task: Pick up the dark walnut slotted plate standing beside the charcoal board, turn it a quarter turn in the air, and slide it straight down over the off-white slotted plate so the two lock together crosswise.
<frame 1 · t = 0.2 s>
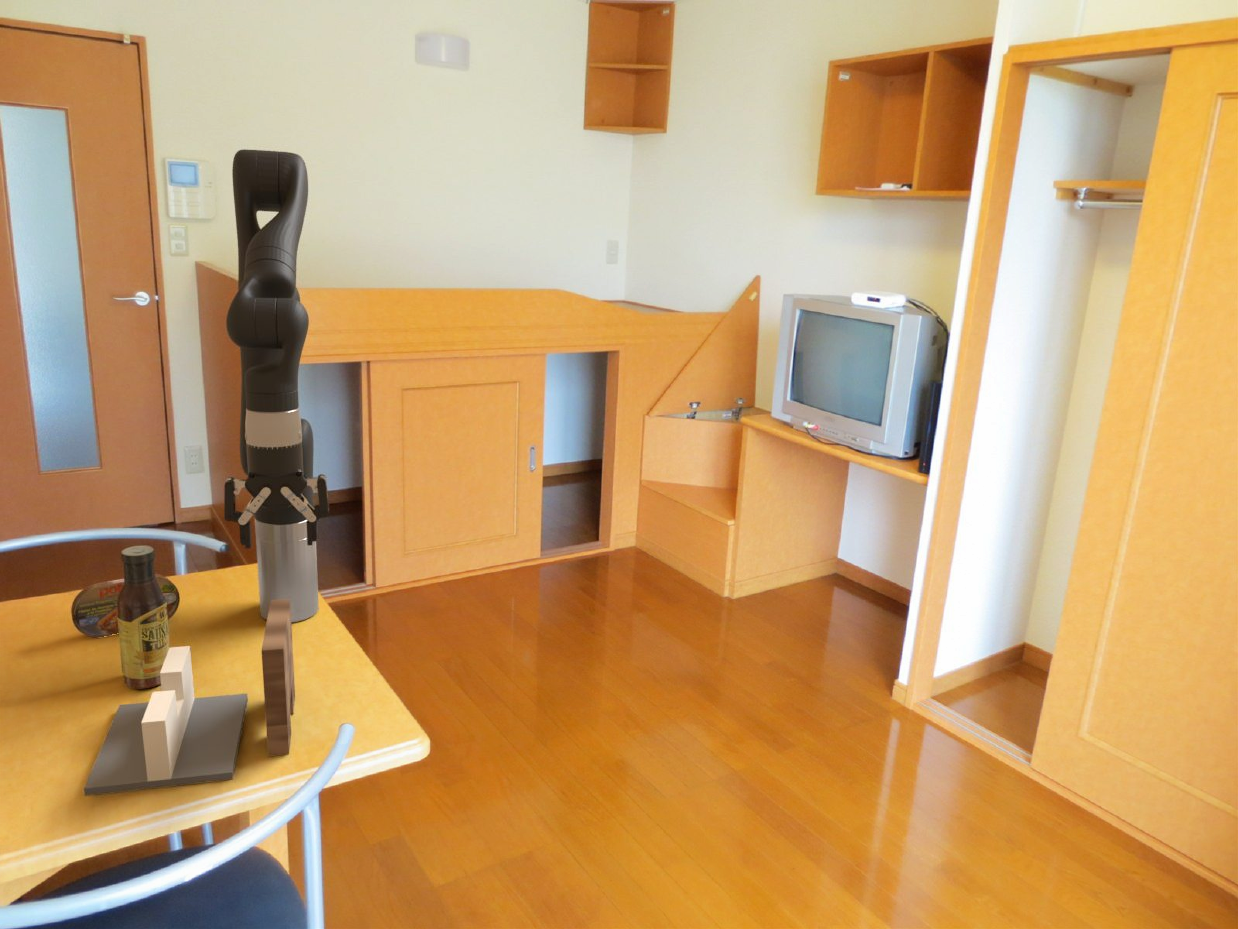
hand: (279, 545, 135), 18 cm above the table, tool pointing down, fingers open, 8 cm apart
sauce bottle: (148, 680, 131), on the table
walnut plate: (282, 724, 122), on the table
tin: (129, 629, 145), on the table
slotted stand: (173, 743, 117), on the table
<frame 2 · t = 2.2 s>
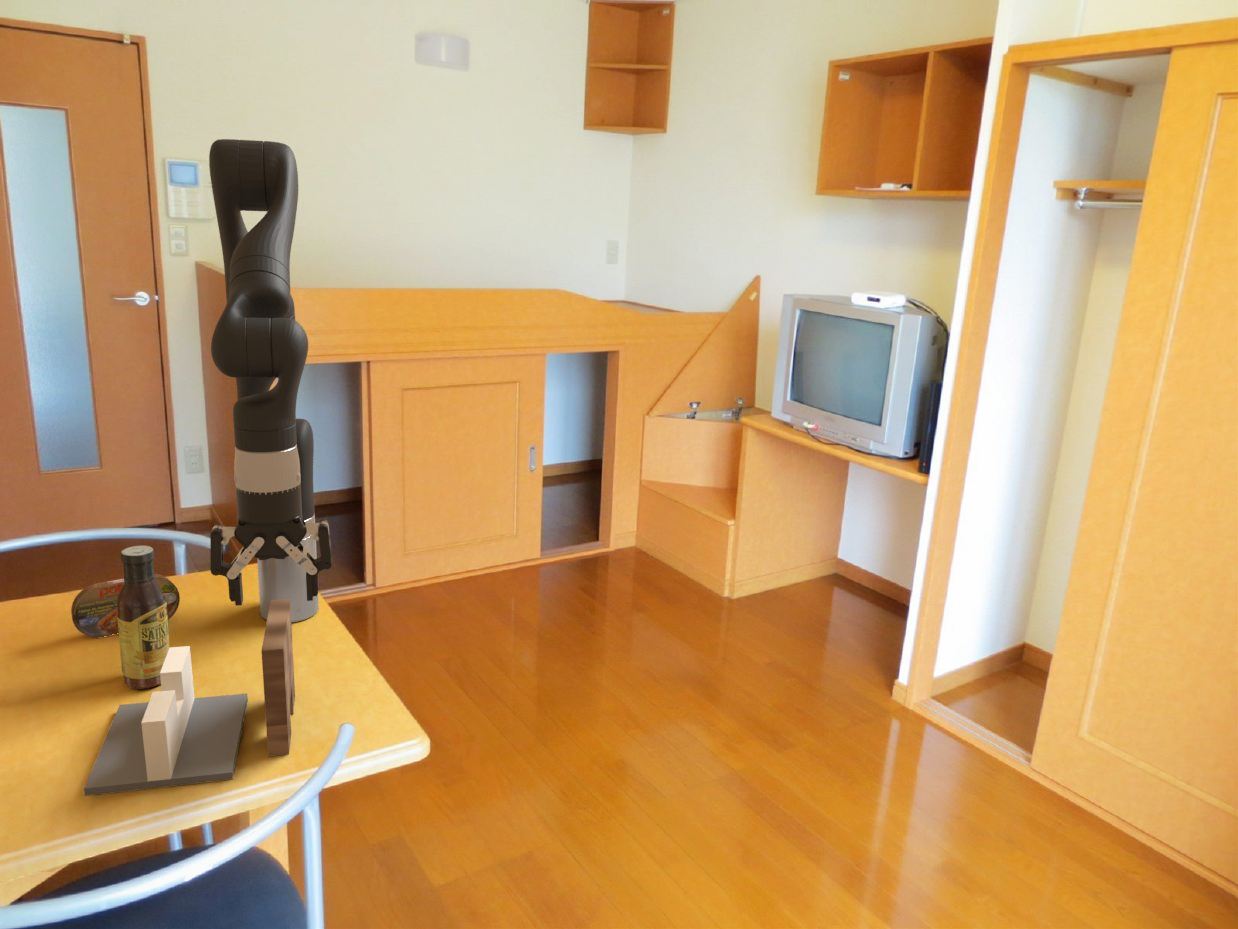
hand: (275, 600, 117), 18 cm above the table, tool pointing down, fingers open, 8 cm apart
nothing on the table moved.
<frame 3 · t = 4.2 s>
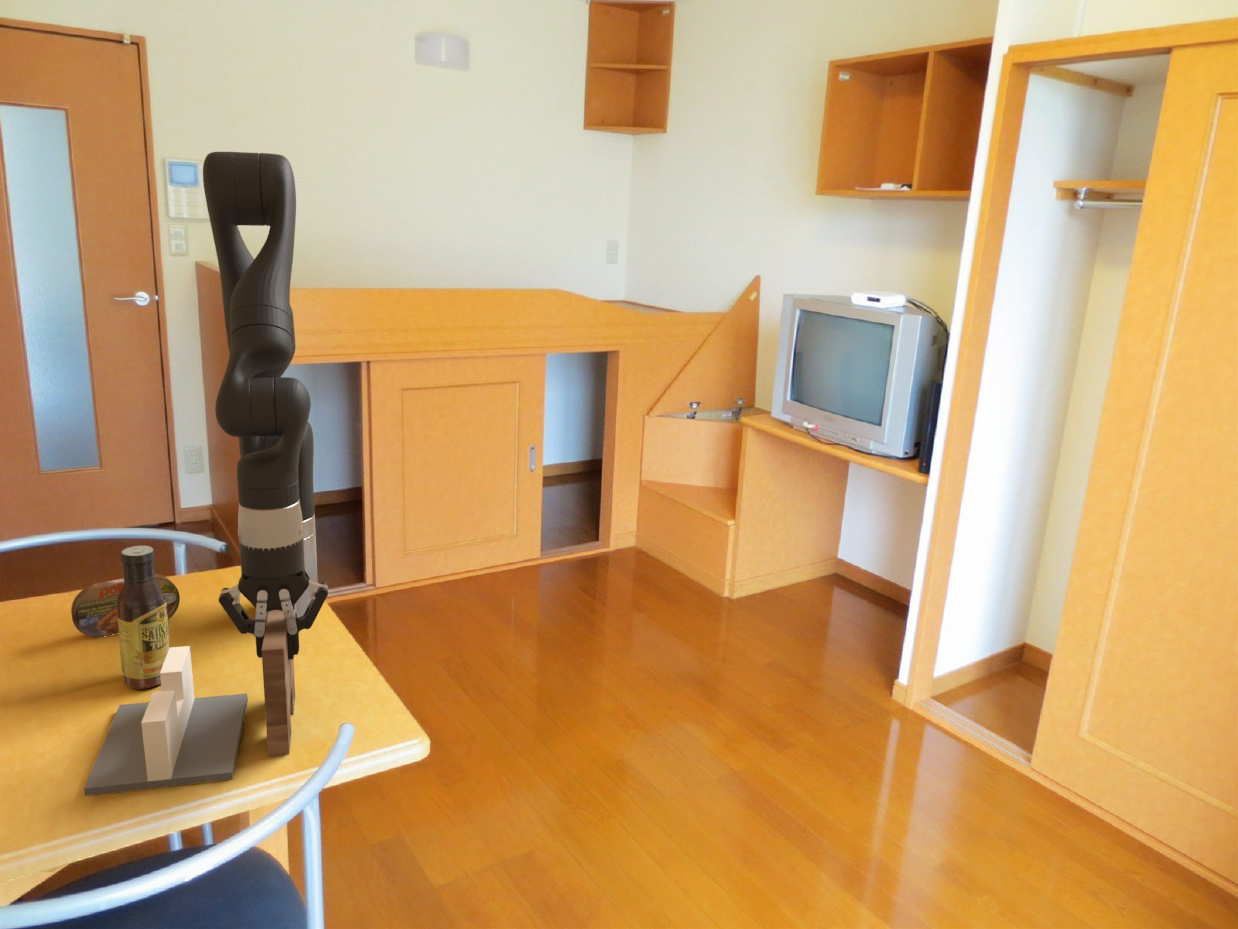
hand: (278, 657, 119), 10 cm above the table, tool pointing down, fingers closed on walnut plate, 2 cm apart
walnut plate: (282, 724, 122), on the table, touching gripper
everything else where it was.
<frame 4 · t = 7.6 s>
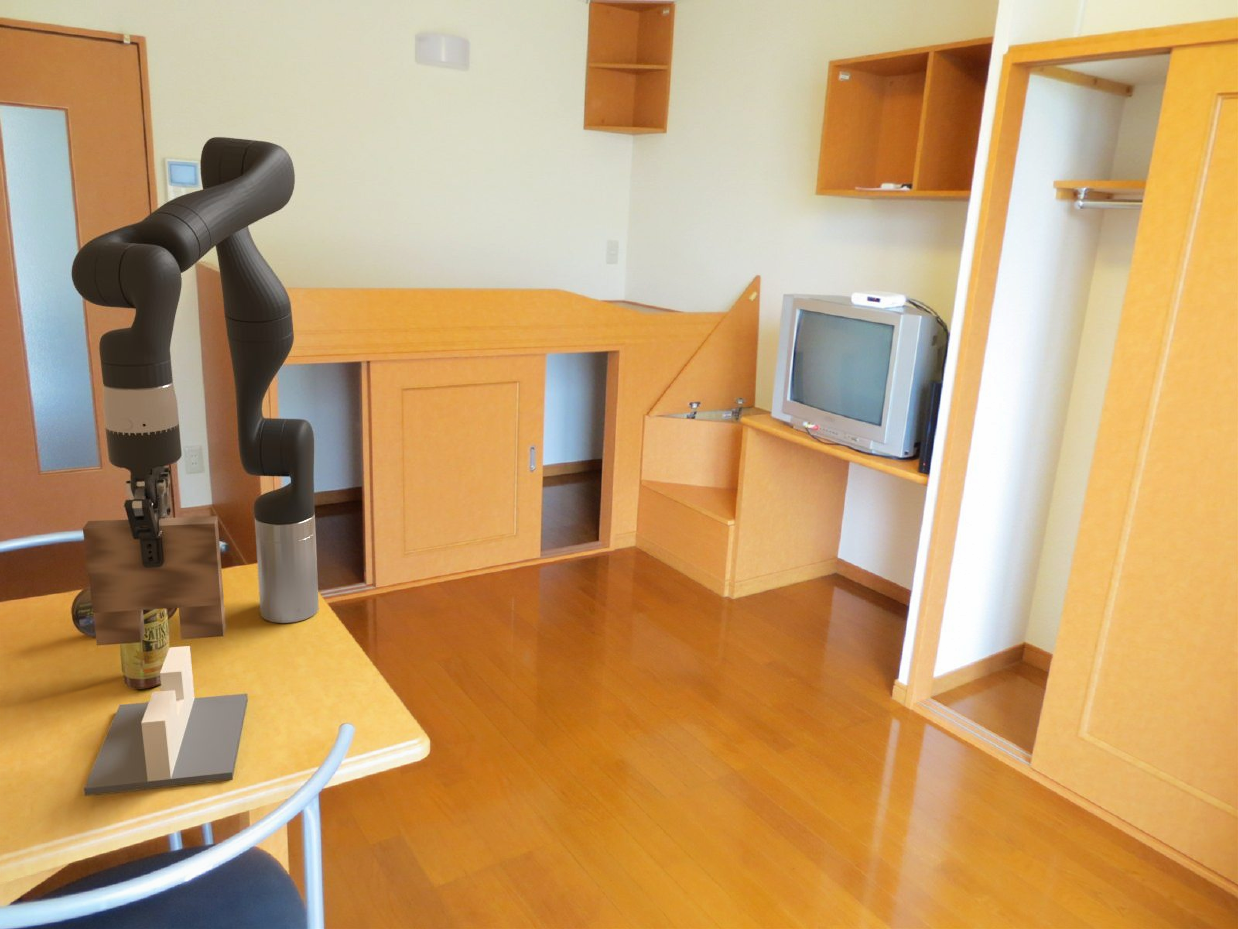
hand: (156, 560, 109), 25 cm above the table, tool pointing down, fingers closed on walnut plate, 2 cm apart
walnut plate: (163, 636, 112), point 15 cm above the table, touching gripper
everything else where it was.
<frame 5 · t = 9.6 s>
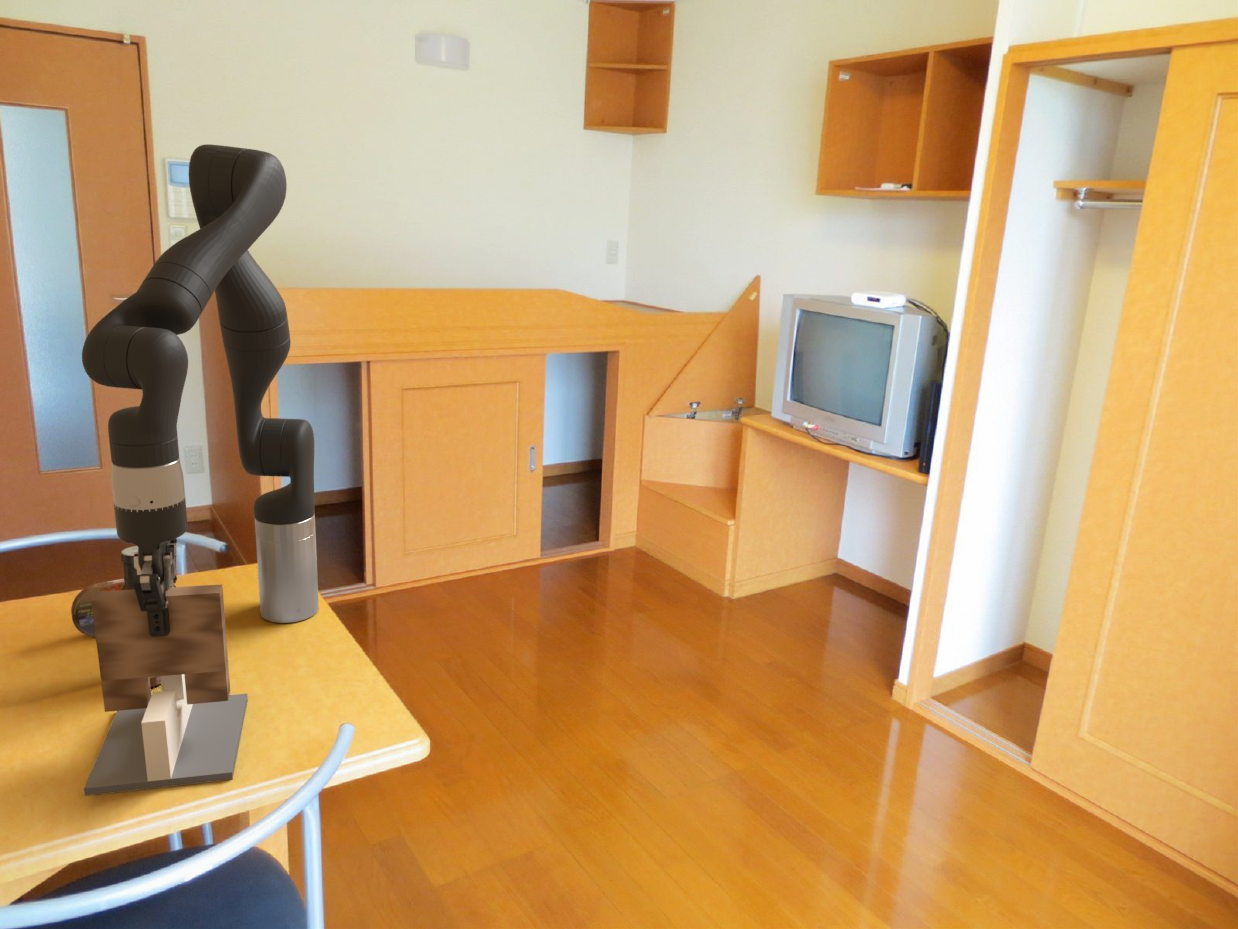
hand: (162, 628, 112), 16 cm above the table, tool pointing down, fingers closed on walnut plate, 2 cm apart
walnut plate: (169, 701, 115), point 6 cm above the table, touching gripper
everything else where it was.
when the fingers open (12 cm above the table, at t = 11.3 s): walnut plate stays where it is, resting on slotted stand.
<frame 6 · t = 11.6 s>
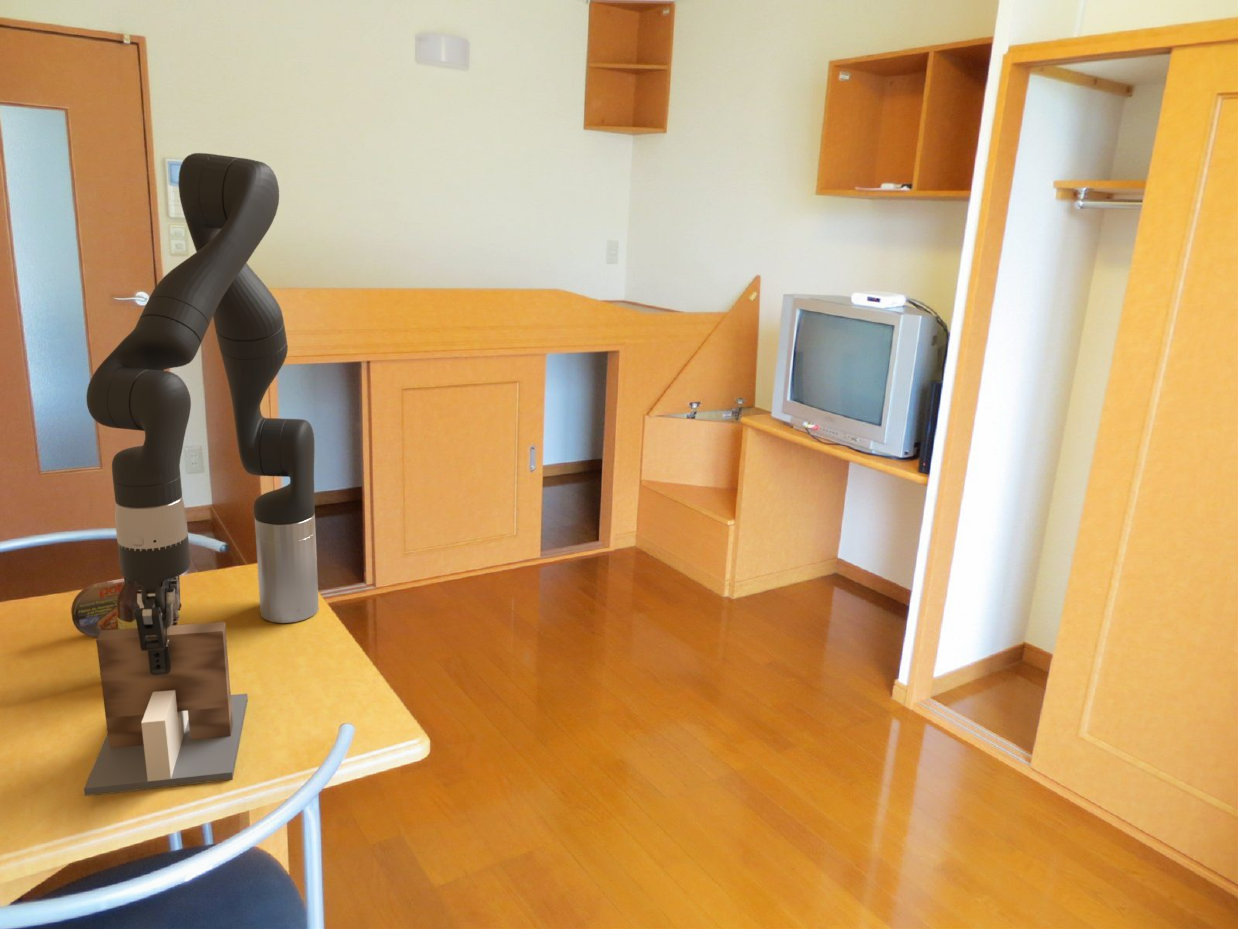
hand: (165, 660, 113), 12 cm above the table, tool pointing down, fingers open, 5 cm apart
walnut plate: (172, 736, 116), point 1 cm above the table, touching slotted stand
everything else where it was.
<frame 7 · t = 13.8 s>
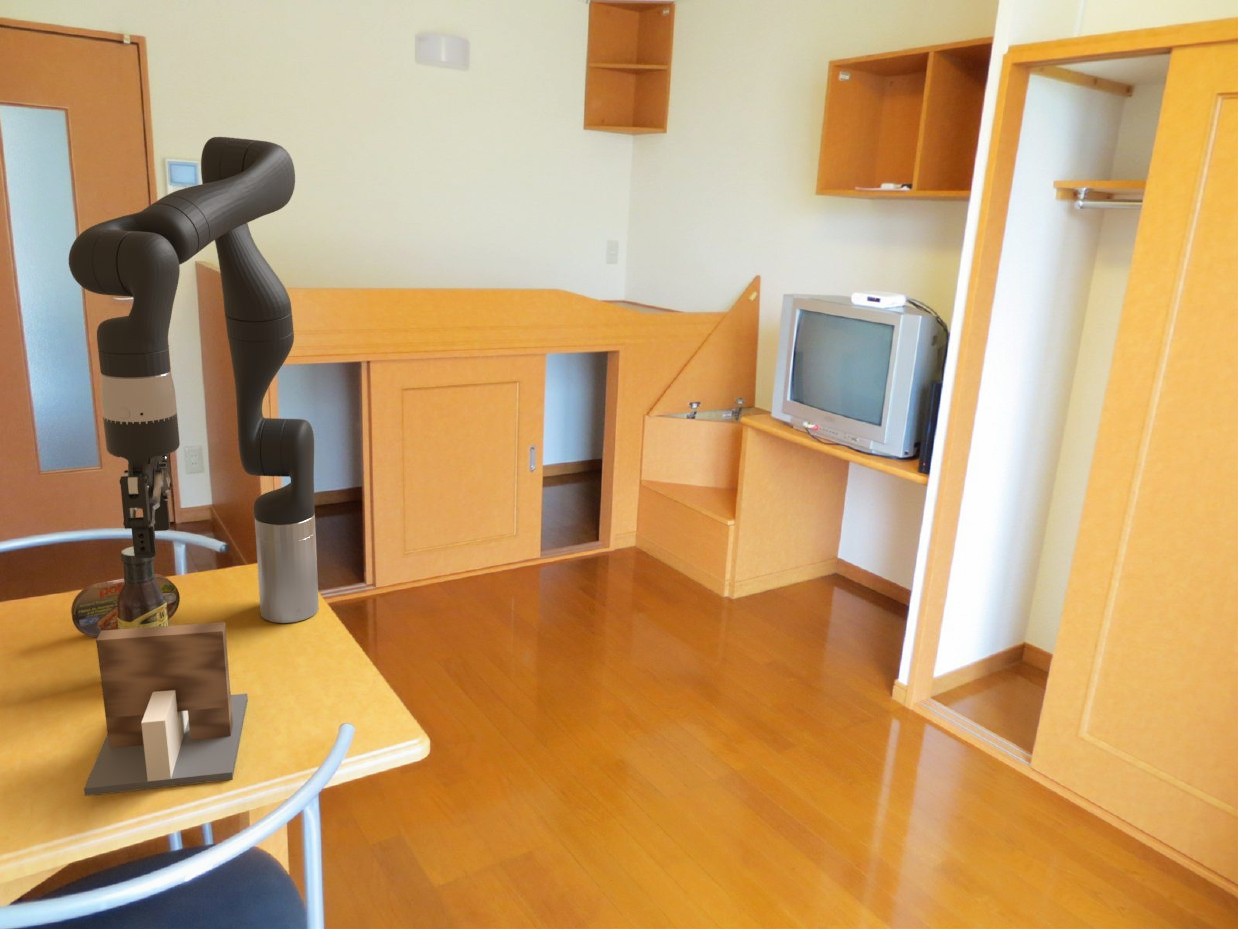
hand: (153, 542, 108), 28 cm above the table, tool pointing down, fingers open, 8 cm apart
nothing on the table moved.
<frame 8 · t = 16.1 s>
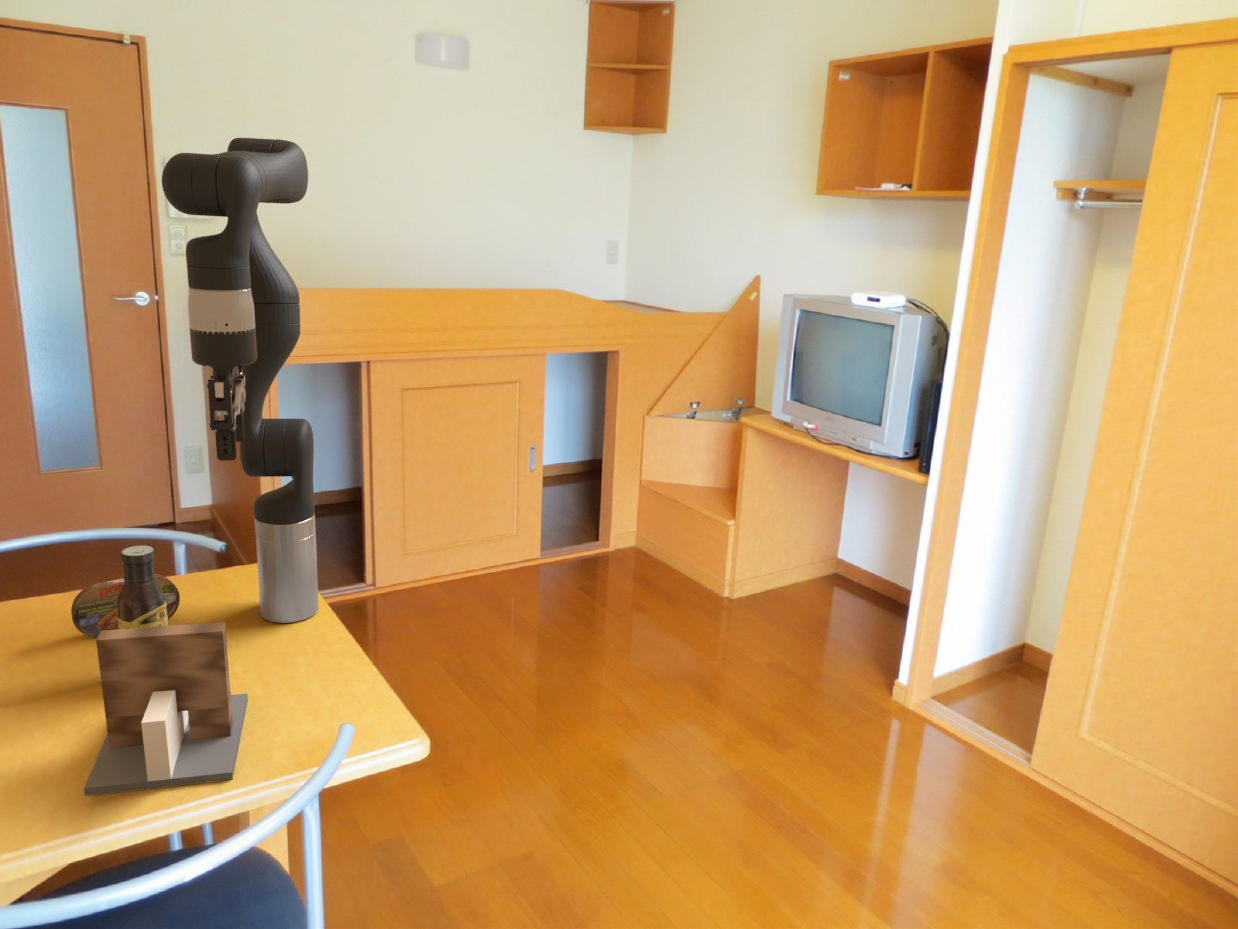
hand: (231, 450, 117), 36 cm above the table, tool pointing down, fingers open, 8 cm apart
nothing on the table moved.
at the end: walnut plate 0.1 cm off-centre on the slotted stand, point 1.0 cm above the slotted stand's base; walnut plate tilted 0°; the gripper is holding nothing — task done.
